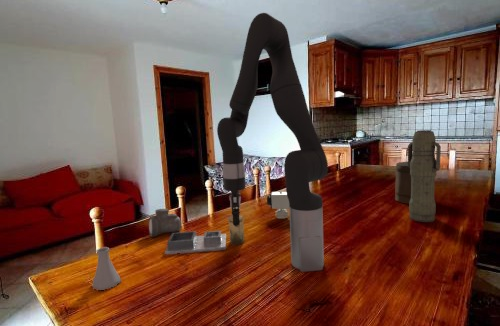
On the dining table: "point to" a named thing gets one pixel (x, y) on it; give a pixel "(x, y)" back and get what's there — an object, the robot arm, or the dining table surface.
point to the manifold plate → (195, 242)
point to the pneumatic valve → (279, 203)
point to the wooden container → (403, 183)
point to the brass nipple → (236, 231)
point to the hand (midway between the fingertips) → (236, 220)
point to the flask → (105, 271)
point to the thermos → (423, 175)
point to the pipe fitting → (163, 222)
